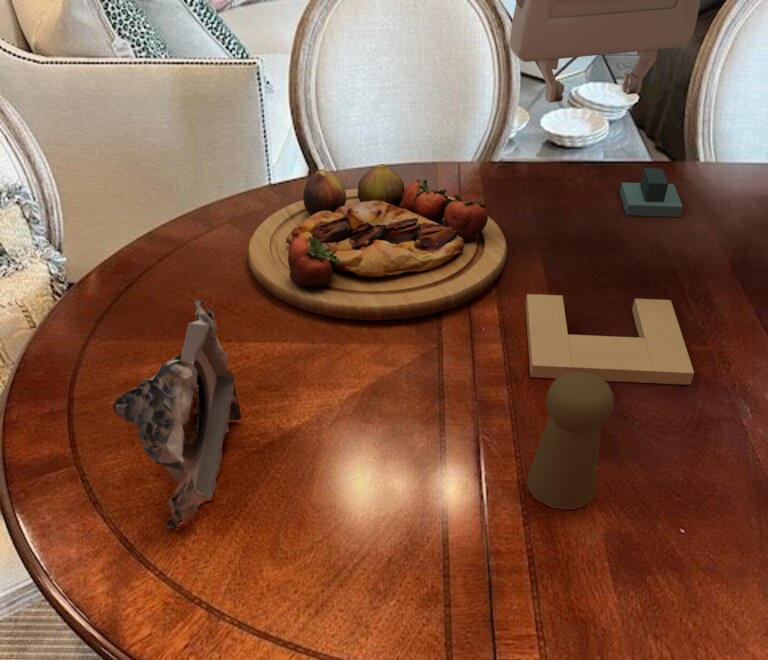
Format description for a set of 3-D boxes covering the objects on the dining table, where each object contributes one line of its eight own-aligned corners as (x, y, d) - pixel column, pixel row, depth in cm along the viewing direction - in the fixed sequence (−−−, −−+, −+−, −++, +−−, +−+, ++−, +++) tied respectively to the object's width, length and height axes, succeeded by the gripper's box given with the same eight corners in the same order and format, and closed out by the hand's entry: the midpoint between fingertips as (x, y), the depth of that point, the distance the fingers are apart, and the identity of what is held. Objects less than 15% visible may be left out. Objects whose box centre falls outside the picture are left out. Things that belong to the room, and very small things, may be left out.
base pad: (667, 311, 89) (671, 299, 88) (690, 385, 79) (694, 372, 78) (525, 305, 90) (527, 293, 89) (530, 377, 80) (532, 365, 79)
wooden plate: (352, 361, 82) (349, 289, 76) (201, 249, 100) (189, 184, 94) (560, 265, 96) (571, 199, 90) (395, 182, 114) (395, 122, 108)
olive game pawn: (518, 499, 67) (535, 396, 60) (536, 456, 71) (554, 354, 64) (588, 518, 66) (615, 414, 58) (602, 472, 70) (629, 370, 62)
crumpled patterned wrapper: (200, 419, 75) (173, 297, 66) (243, 421, 75) (222, 299, 66) (150, 531, 65) (110, 406, 56) (201, 535, 65) (169, 409, 55)
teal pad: (671, 194, 110) (678, 165, 107) (680, 217, 105) (688, 187, 102) (619, 192, 111) (625, 164, 108) (625, 215, 106) (632, 185, 103)
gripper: (529, -37, 76) (515, 115, 86) (721, -52, 79) (686, 97, 89) (507, -50, 80) (496, 96, 90) (690, -63, 83) (660, 79, 93)
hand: (592, 96), depth 89 cm, fingers open, 8 cm apart
